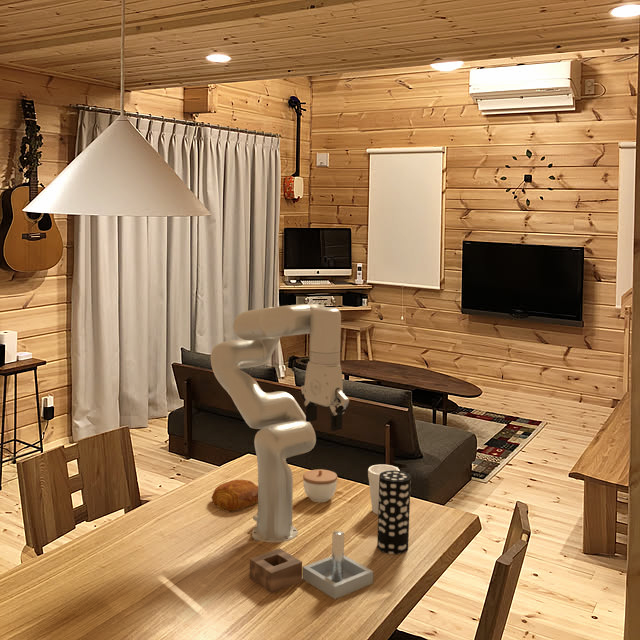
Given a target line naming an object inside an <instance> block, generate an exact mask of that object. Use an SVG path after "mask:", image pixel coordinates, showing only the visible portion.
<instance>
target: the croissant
mask: <svg viewBox="0 0 640 640" xmlns="http://www.w3.org/2000/svg"><path fill="white" fill-rule="evenodd" d="M211 500H212V501H211V502H212V504H213V503H214V504H213V505H214V506H215V505H217V506H216V507H217V508H219V509H220V510H223V511H225V512H228V511H233V512H236V510H237V511H240V509H241V510H243V508H244V509H246V508H249V507H250V506H253V505H255V504H256V503H258V484H255V483H254V482H253V481H251V480H248V479H234V480H233V479H232V480H229V481H227V482H223V483H221V484H219V485H218V486H217V487H215V489H214V491H213V493H212V496H211ZM248 506H249V507H248Z"/></svg>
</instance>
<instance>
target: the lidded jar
mask: <svg viewBox="0 0 640 640" xmlns="http://www.w3.org/2000/svg"><path fill="white" fill-rule="evenodd" d="M302 478H303V489H304V492H305V494H306V496H307V497H308V498H309V499H310V500H311V502H314V503H326V502H328V501H330V499H331V498H332V497H333V496H334V494H335V492H336V490H337V483H338V475H337V473H336V472H335V471H332V470H328V469H311V470H307V471H305V472H304V473H303V475H302Z"/></svg>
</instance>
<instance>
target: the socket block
mask: <svg viewBox="0 0 640 640" xmlns="http://www.w3.org/2000/svg"><path fill="white" fill-rule="evenodd" d="M249 579H250V580H251V581H253V583H255V584H257V585H258V586H260V587H261V588H263V589H264V590H265V591H267V592H268V593H270V594H271V595H272V594H275V593H277V592H279V591H282V590H284V589H287V588H290V587H292V586H295V585H297V584H300V583H302V582H303V561H301V560H300V559H298V558H297V557H295V556H294V555H291V554H290V553H288V552H287V551H285V550H284V549H282V548H280V547H279V548H277V549H273V550H271V551H268V552H264V553H262V554H259V555H256V556H253V557H251V558H249Z"/></svg>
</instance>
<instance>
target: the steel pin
mask: <svg viewBox="0 0 640 640" xmlns="http://www.w3.org/2000/svg"><path fill="white" fill-rule="evenodd" d="M331 534H332V537H331V538H332V539H331V540H332V542H331V556H332V573H331V581H333V582H335V583H337V582H340V581H342V580H343V559H344V554H345V552H344V551H345V532H344V531H341V530H334V531H333V532H332V533H331Z"/></svg>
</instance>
